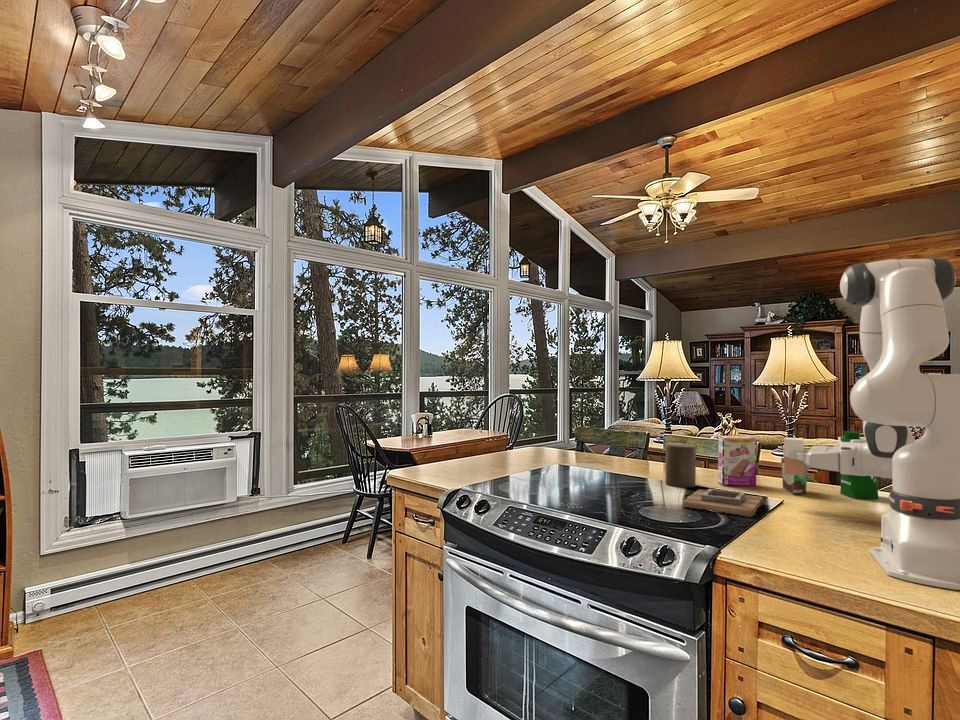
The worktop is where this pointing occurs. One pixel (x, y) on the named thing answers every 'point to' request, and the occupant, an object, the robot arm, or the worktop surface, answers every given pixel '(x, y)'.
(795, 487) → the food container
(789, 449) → the block stack
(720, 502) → the walnut plate
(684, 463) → the pillar candle
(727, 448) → the candy bar box
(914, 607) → the worktop surface
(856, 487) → the milk carton
